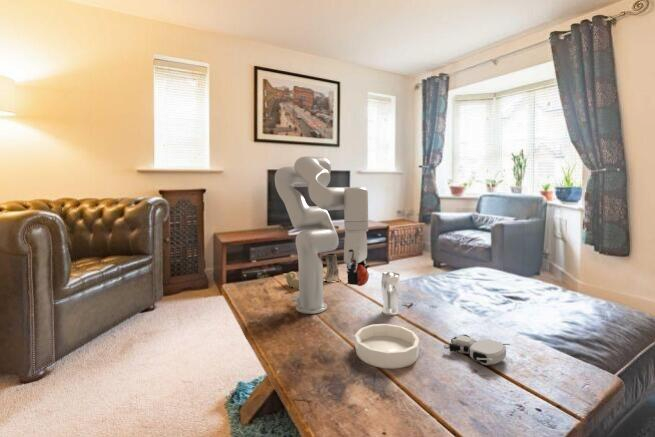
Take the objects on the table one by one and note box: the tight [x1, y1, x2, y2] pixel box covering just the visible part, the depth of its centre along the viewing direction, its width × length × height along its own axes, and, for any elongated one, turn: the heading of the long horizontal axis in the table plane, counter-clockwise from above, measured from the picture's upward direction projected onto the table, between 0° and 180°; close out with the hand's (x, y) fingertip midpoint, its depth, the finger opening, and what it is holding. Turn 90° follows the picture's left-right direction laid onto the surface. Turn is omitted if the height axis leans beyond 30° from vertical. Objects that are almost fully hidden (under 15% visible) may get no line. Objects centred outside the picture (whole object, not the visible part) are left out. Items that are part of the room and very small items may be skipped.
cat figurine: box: [282, 271, 299, 289], centre depth 159 cm, size 8×7×12 cm
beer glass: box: [381, 271, 401, 316], centre depth 126 cm, size 7×7×15 cm
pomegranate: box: [344, 264, 371, 287], centre depth 106 cm, size 7×7×10 cm
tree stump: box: [323, 253, 340, 283], centre depth 169 cm, size 10×10×13 cm
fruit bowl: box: [354, 323, 420, 370], centre depth 97 cm, size 18×18×4 cm
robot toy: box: [443, 334, 511, 366], centre depth 94 cm, size 12×4×15 cm
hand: (357, 280), depth 106 cm, fingers closed on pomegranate, 7 cm apart
